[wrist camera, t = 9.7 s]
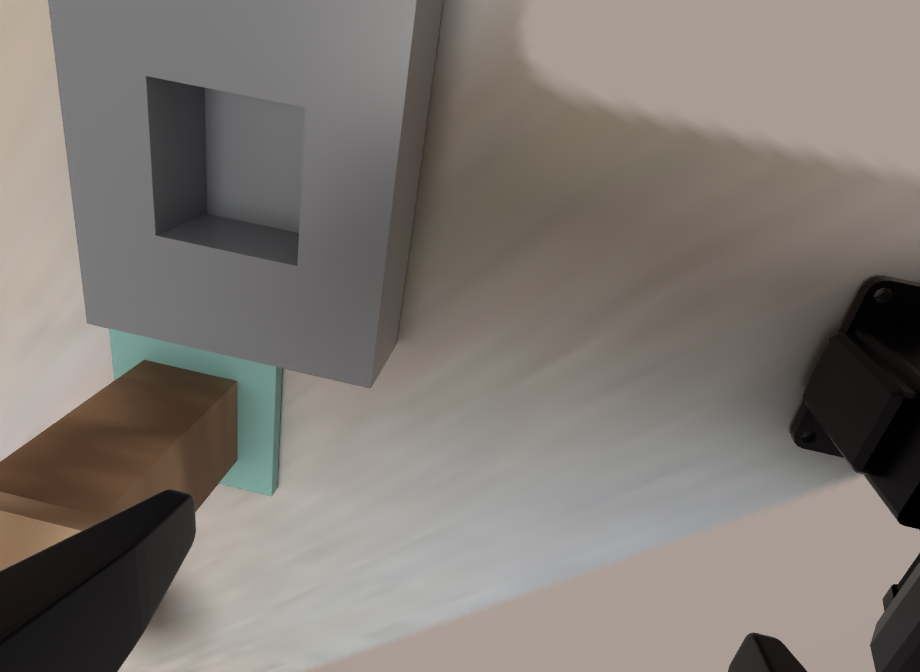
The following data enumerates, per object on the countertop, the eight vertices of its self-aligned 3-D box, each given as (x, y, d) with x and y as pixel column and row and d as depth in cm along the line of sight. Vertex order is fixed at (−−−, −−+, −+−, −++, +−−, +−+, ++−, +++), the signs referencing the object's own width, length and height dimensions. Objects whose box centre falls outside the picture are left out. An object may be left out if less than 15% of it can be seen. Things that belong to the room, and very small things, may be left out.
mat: (282, 351, 24) (276, 358, 23) (277, 487, 27) (271, 496, 26) (118, 314, 24) (108, 320, 24) (131, 452, 27) (122, 460, 27)
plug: (240, 379, 24) (85, 532, 16) (239, 462, 26) (101, 635, 18) (141, 356, 24) (-57, 496, 16) (148, 440, 26) (-27, 601, 18)
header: (445, -15, 17) (420, -33, 14) (396, 343, 23) (370, 388, 20) (126, -74, 18) (35, -102, 15) (150, 288, 23) (87, 323, 20)
